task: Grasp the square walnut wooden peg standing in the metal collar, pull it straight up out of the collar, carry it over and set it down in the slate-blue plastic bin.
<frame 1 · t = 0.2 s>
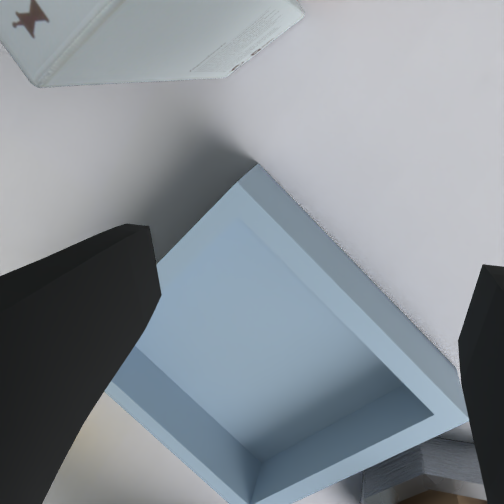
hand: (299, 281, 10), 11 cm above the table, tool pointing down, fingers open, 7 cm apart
bin: (261, 342, 24), on the table
collar: (442, 498, 25), on the table
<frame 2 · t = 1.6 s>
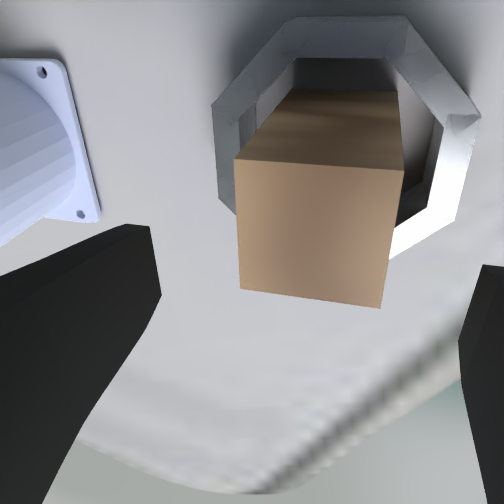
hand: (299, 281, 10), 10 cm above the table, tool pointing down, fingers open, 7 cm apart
peg: (328, 178, 14), in the collar
collar: (338, 140, 18), on the table
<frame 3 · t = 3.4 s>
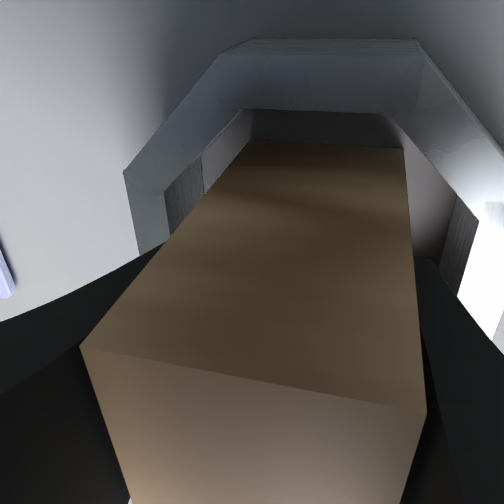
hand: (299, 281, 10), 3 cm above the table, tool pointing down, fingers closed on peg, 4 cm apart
peg: (294, 296, 9), in the collar, touching gripper
collar: (319, 212, 12), on the table
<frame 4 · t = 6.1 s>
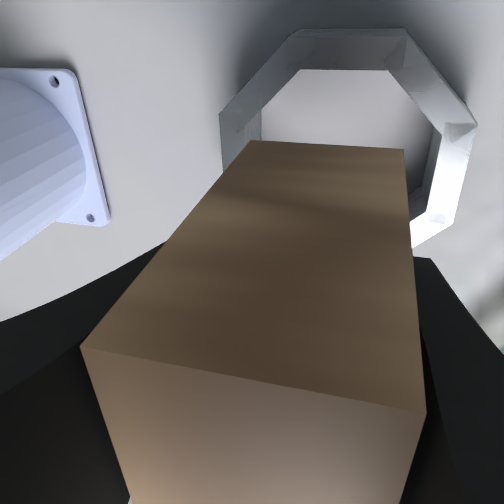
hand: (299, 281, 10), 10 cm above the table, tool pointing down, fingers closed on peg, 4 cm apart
peg: (294, 297, 9), point 11 cm above the table, touching gripper
collar: (341, 147, 18), on the table
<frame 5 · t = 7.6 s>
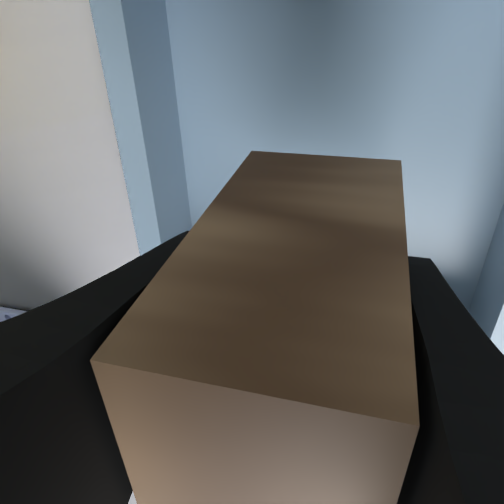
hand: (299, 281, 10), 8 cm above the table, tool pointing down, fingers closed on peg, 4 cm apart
peg: (295, 306, 9), point 9 cm above the table, touching gripper
bin: (335, 155, 16), on the table
when the fingers open (5 cm above the table, at t = 9.0 s): peg stays where it is, resting on bin.
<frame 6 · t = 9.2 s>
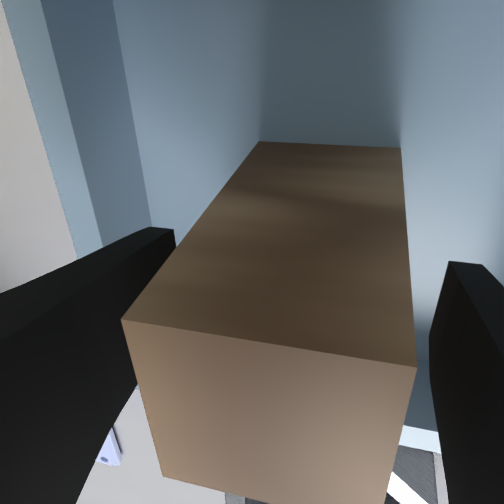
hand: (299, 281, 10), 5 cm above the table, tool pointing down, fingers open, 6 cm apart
peg: (302, 284, 10), in the bin, point 5 cm above the table
bin: (325, 190, 13), on the table
collar: (327, 456, 21), on the table
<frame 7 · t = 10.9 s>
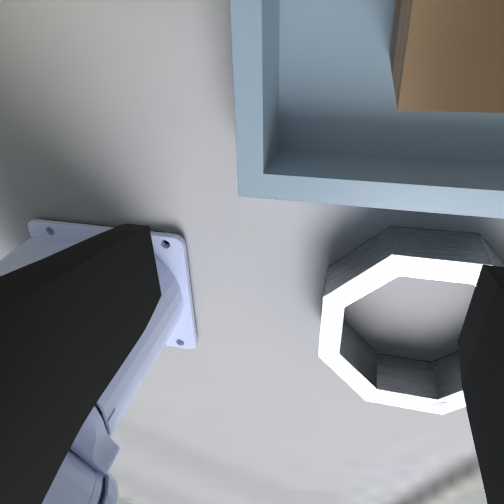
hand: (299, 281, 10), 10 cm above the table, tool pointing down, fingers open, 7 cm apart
collar: (415, 308, 21), on the table
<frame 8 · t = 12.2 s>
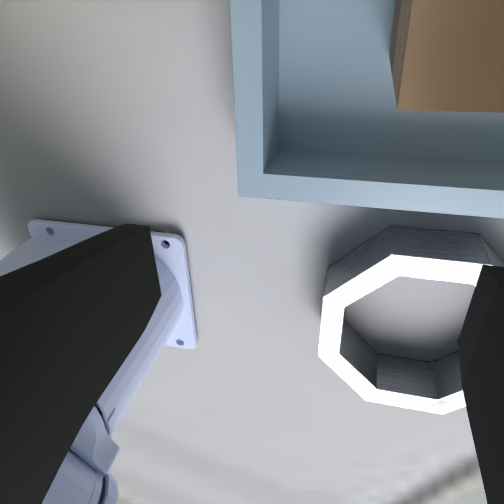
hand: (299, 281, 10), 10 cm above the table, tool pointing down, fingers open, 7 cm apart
collar: (415, 308, 21), on the table
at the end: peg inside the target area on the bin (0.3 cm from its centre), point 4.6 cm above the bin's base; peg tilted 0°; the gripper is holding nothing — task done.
